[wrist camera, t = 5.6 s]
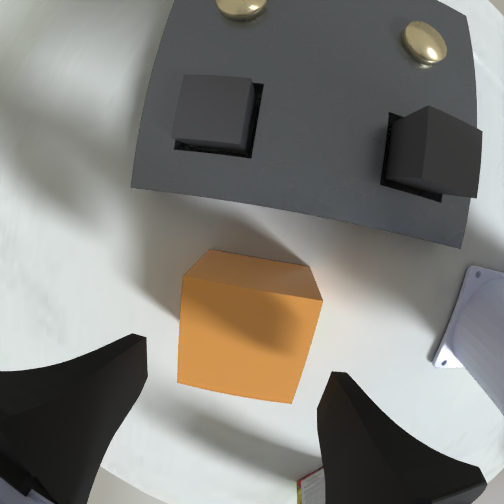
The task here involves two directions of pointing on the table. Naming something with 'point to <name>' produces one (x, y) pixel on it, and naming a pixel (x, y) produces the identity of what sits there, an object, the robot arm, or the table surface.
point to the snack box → (312, 488)
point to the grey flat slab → (314, 105)
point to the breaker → (435, 153)
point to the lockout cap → (246, 325)
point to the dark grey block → (215, 113)
